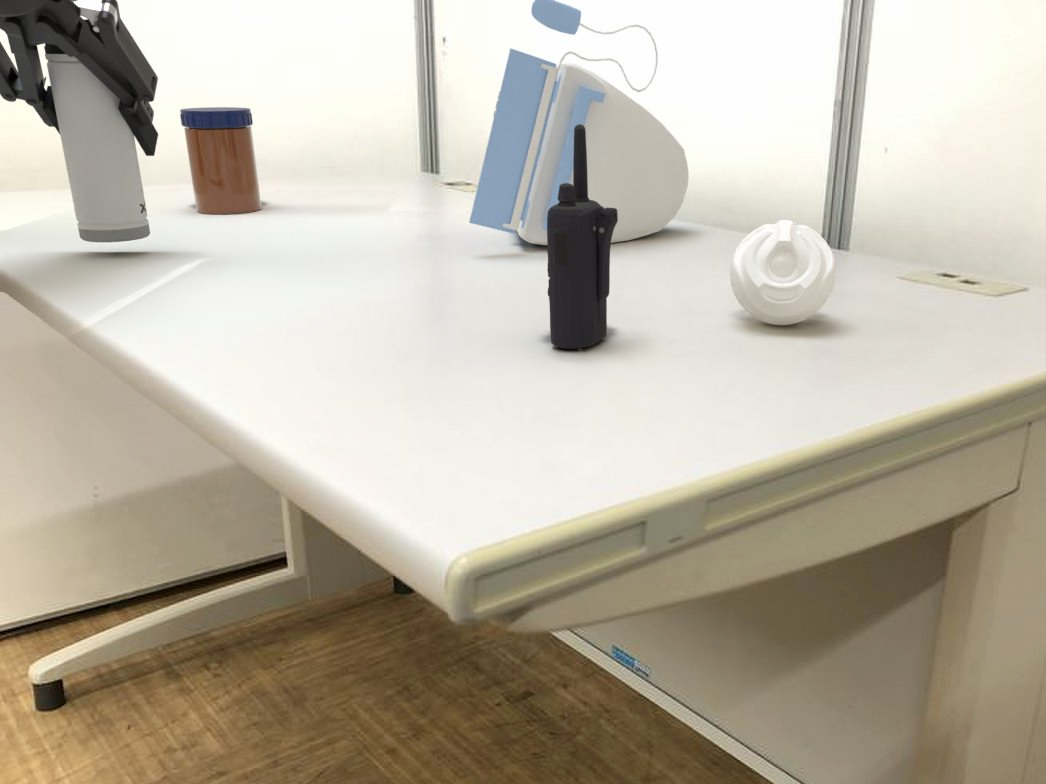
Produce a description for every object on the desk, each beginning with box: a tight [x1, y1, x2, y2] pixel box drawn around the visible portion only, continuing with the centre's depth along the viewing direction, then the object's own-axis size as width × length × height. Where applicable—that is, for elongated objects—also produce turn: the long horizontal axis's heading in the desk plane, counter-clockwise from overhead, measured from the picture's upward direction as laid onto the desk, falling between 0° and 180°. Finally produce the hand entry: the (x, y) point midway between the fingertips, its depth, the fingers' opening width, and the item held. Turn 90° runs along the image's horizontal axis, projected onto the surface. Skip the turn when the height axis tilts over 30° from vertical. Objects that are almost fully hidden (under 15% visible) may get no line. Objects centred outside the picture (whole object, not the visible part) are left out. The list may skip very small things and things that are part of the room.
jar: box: [183, 125, 262, 215], centre depth 132 cm, size 8×8×12 cm
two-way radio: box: [546, 124, 618, 351], centre depth 74 cm, size 6×4×15 cm
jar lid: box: [179, 106, 254, 128], centre depth 130 cm, size 8×8×2 cm
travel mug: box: [43, 18, 151, 243], centre depth 100 cm, size 6×7×20 cm
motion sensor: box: [729, 219, 837, 326], centre depth 81 cm, size 8×8×8 cm
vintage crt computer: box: [468, 0, 689, 246], centre depth 115 cm, size 25×23×17 cm
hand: (116, 144), depth 104 cm, fingers closed on travel mug, 6 cm apart
